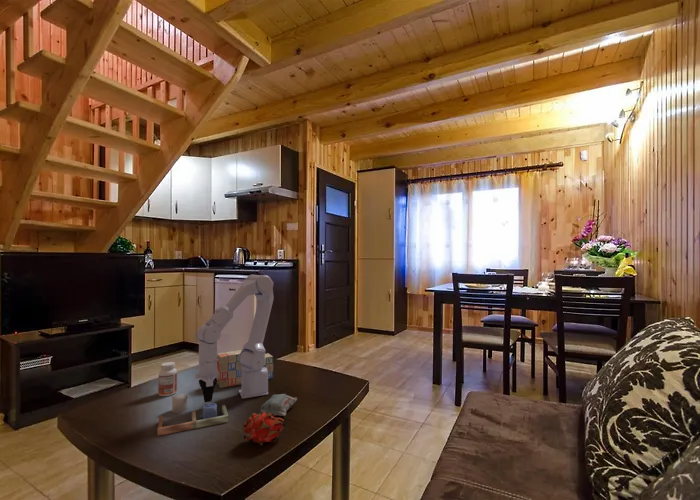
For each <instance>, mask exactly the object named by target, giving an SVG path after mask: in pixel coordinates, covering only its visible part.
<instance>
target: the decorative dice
mask: <svg viewBox="0 0 700 500" xmlns="http://www.w3.org/2000/svg"><path fill="white" fill-rule="evenodd" d="M217 407H218V405H217V403H215V402H208V403H205V404H204V405H203V406H202V419H207V418H213V417H218V412H217V409H218V408H217Z"/></svg>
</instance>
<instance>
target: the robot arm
mask: <svg viewBox="0 0 700 500" xmlns="http://www.w3.org/2000/svg"><path fill="white" fill-rule="evenodd" d="M274 283H275V282H274V281H273V280H272V278H271V277H270V276H269V275H266V274H263V275H261V274H253V273H252V274H249V275H248V276H247V277H246V278H245V279H244V280H243V281H242V282H241V285H240V286H239V288H238V289H237V291H236V292H235V293H234V295H232V297H231V298H230V299H229V300H228V302H227V303H226V305H225V306H219V308H217V307H216V308H215V310H214V313H213V315H211V316H210V318H209V319H208V320H206V321H205V324H202V325H200V326H199V327H198V329H197V332H195V337H196V339H197V341H198V373H197V374H195V375H194V378H195V379H199V380H198V384H199V386H200V388H201V390H202V396H203V397H202V398H203V400H204V401H203V402H204V403H212V401H213V395H214V391H215V388H216V385H218V383H217V375H218V372H217V361H218V356H217V354H218V340H219V339H221V333H222V332H223V330H224V328H226V326H227V325H228V324H229V323H230V321H232V319H233V318H234V312H235V310H237V308H238V307H239V306H241V304H242V303H243V302H244V301H245V300H246V299H247V298H248V297H249V296H252V295H254V296H255V297H256V299H257V301H258V302H257V304H256V305H257V306H256V309H255V313H254V317H253V321H252V326H251V330H250V333H249V337H248V341H247V342H246V343H245V344H244V345H243V346H242V349H241V350H242V351H241V353H240V354H239V356H238V362H239V364H240V365H241V368H242V374H241V384H240V386H241V387H240V389H239V390H238V393H239V395H240V397H241V399H243V400H244V399H248V398H255V397H259V396H265V395H269V379H268V371H267V368H263V366H264V364H265V354H266V349H265V347H264V341H265V336H266V332H267V328H268V324H269V319H270V315H271V311H272V306H273V303H274V298H275V297H274V289H273V288H274Z"/></svg>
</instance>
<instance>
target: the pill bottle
mask: <svg viewBox="0 0 700 500" xmlns="http://www.w3.org/2000/svg"><path fill="white" fill-rule="evenodd" d="M175 367H176V362H174V361H167V362H163V363H161V364H160V369H161V370H159V372H158V386H157V387H158V388H157V389H158V391H157V393H158V394H157V395H158V396H159V397H169V396H174V395H176V393H177V391H178V369H177V368H175Z"/></svg>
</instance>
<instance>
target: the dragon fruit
mask: <svg viewBox="0 0 700 500" xmlns="http://www.w3.org/2000/svg"><path fill="white" fill-rule="evenodd" d="M286 425H287V423H286V421H285V419H283V418H282V417H276V416H274V415H273V413H270V412H269V413H267V414H265V412H261V413H260V412H259V413H257V412H256V413H255V412H253V413H251V415H250V416H249V417H248V418H247V419H246V420H245V421H244V422H243V427H242V428H241V431H242V433H243V434H246V435H244V437H243V439H244V440H245V441H250V440H252V442H253V443H254V444H256V443H258V445H259V446H260V447H261V446H263V444H264V443H272V444H273V443H274V442H276V441H277V440H278V439H279V437H278V436H280V433H282V431H283V430H284V428H285V427H286Z"/></svg>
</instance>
